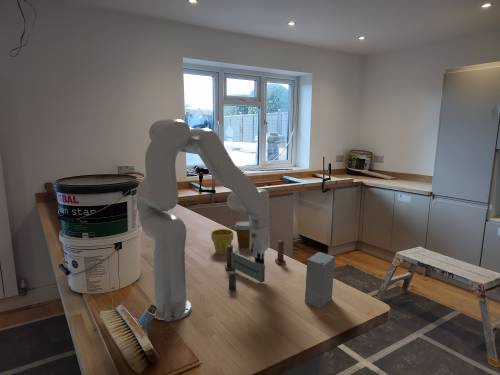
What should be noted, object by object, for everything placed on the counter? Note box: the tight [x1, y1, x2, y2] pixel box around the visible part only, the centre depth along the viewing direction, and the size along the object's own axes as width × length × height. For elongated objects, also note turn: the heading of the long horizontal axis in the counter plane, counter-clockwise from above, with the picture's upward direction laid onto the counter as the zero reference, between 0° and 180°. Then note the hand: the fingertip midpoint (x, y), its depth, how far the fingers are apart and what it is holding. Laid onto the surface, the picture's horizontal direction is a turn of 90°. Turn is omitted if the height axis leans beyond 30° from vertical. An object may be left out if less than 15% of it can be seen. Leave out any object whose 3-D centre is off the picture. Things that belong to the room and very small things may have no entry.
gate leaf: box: [231, 250, 266, 283], centre depth 126 cm, size 18×2×7 cm, turn 41°
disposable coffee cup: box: [234, 220, 250, 250], centre depth 160 cm, size 10×10×12 cm
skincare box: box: [304, 251, 336, 309], centre depth 108 cm, size 8×7×16 cm
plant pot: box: [210, 228, 234, 255], centre depth 154 cm, size 10×10×10 cm
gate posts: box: [224, 239, 287, 291], centre depth 129 cm, size 28×20×10 cm
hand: (259, 267), depth 125 cm, fingers closed
